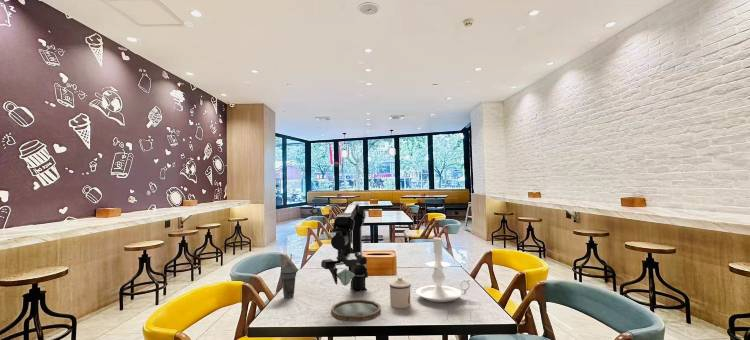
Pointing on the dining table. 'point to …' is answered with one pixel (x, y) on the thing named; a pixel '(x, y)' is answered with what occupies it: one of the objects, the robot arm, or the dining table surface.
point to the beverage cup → (288, 279)
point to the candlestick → (440, 280)
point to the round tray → (356, 310)
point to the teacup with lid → (400, 293)
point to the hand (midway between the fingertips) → (344, 282)
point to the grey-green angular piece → (345, 276)
